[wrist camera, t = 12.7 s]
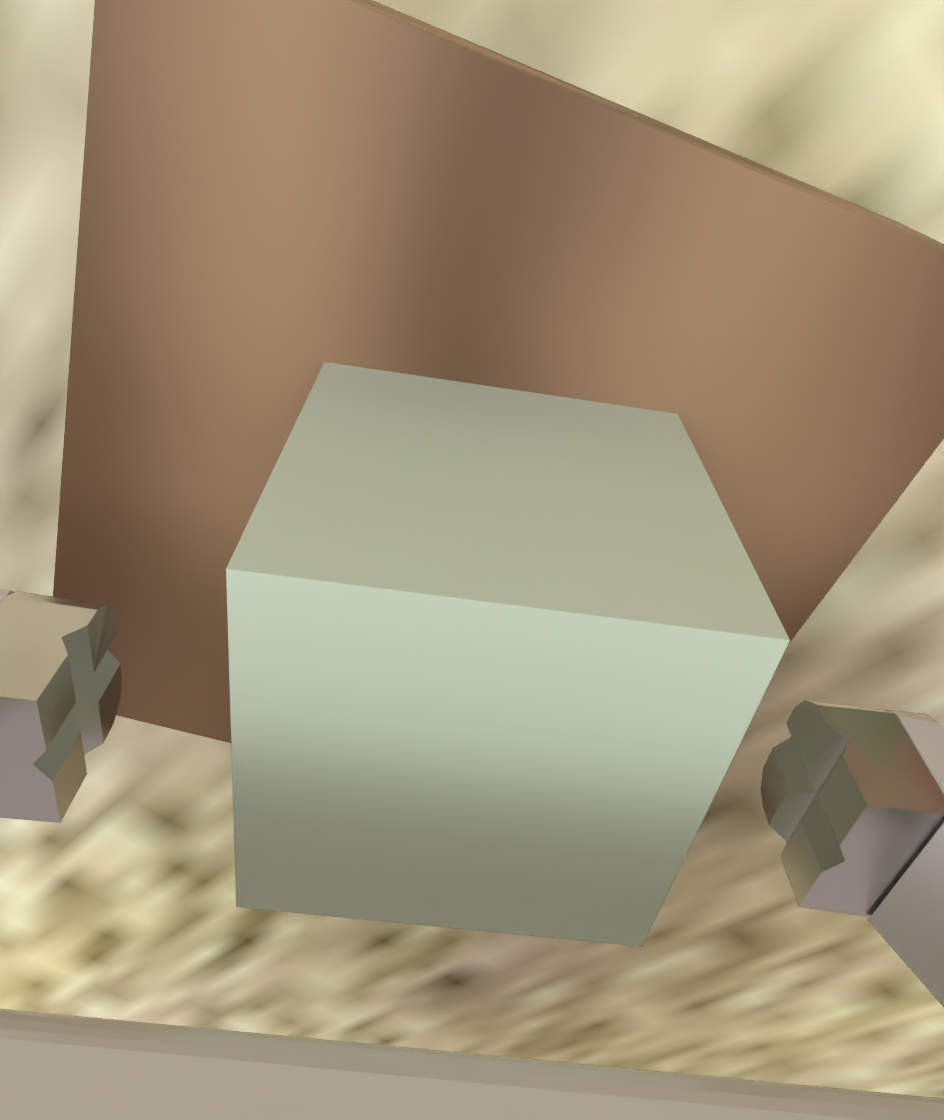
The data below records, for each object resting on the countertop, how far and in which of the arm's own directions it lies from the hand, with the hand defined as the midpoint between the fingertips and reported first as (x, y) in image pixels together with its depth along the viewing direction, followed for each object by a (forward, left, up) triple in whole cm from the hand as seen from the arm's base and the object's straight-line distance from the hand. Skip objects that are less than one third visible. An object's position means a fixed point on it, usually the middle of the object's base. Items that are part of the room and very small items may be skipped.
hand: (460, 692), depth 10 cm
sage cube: (0, 0, -4) cm, 4 cm away
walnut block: (0, 0, -8) cm, 9 cm away
